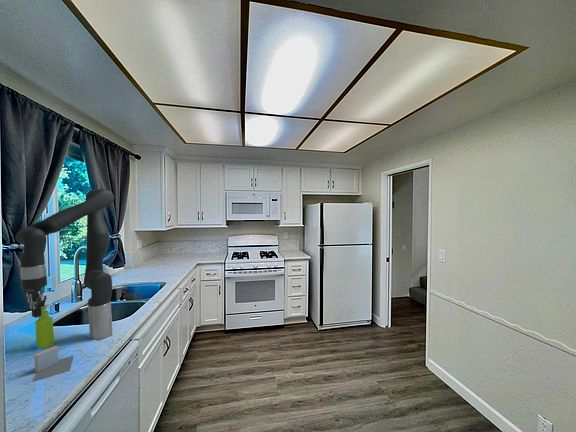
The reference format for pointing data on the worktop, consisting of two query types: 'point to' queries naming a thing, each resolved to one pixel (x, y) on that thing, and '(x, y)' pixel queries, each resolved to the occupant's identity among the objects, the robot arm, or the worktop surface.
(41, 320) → the soap dispenser
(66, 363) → the mat
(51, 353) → the tile
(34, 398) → the worktop surface
